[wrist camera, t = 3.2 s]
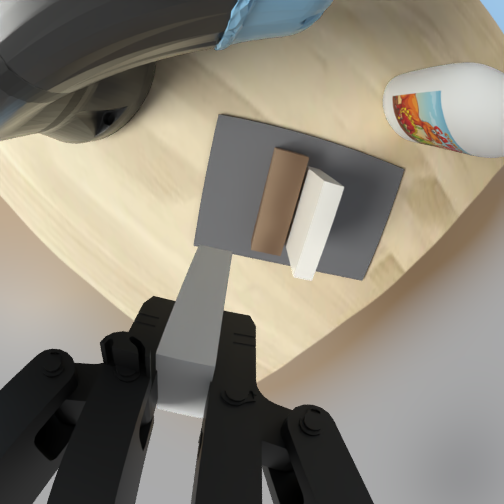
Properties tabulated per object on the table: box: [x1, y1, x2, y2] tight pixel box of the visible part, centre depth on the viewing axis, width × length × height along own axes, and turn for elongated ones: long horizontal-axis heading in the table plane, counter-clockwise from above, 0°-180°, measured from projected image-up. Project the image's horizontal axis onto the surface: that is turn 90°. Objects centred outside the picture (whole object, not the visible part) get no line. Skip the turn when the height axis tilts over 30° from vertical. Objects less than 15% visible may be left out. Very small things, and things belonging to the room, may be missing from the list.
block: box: [251, 147, 309, 256], centre depth 27 cm, size 3×10×2 cm, turn 167°
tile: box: [285, 166, 344, 281], centre depth 24 cm, size 2×8×8 cm, turn 167°
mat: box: [194, 114, 404, 281], centre depth 28 cm, size 20×14×1 cm
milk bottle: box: [383, 62, 504, 158], centre depth 14 cm, size 8×8×20 cm
